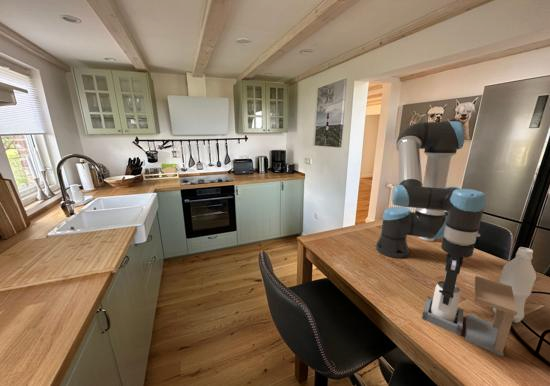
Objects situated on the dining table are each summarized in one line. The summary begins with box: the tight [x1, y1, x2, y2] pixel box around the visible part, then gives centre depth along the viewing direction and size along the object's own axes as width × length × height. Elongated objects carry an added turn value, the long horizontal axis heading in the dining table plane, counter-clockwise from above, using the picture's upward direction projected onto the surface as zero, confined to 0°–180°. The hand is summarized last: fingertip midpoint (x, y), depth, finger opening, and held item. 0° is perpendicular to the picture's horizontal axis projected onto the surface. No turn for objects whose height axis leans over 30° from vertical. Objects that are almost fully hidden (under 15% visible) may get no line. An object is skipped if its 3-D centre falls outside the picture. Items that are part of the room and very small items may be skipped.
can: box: [430, 280, 461, 323], centre depth 73 cm, size 6×6×12 cm
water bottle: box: [492, 246, 537, 324], centre depth 71 cm, size 7×7×25 cm
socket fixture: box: [421, 275, 517, 358], centre depth 69 cm, size 19×13×15 cm
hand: (445, 298), depth 73 cm, fingers open, 13 cm apart
